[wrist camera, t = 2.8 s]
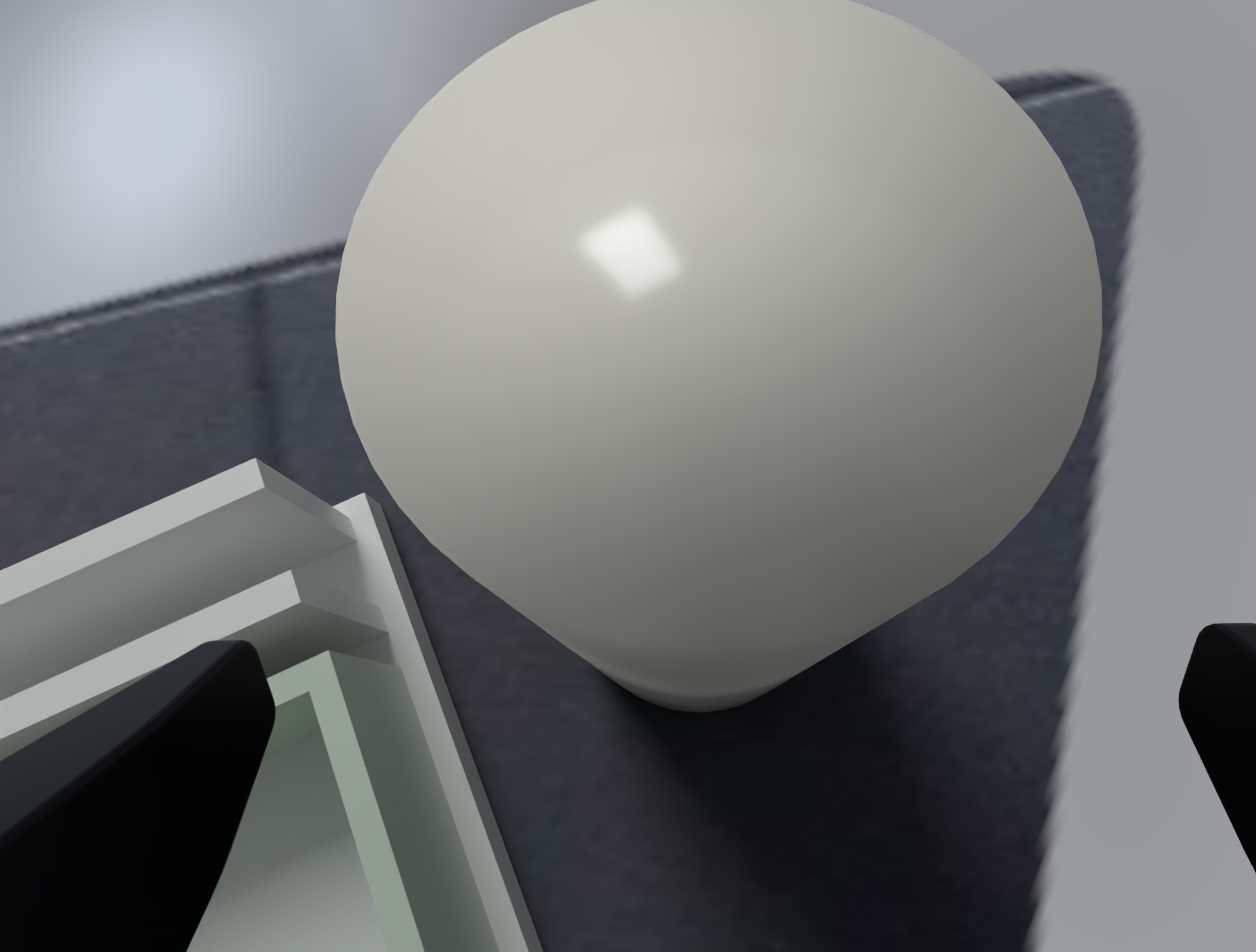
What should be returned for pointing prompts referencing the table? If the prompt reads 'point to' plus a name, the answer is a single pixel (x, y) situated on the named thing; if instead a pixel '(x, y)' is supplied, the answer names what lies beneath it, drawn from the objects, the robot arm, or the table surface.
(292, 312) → the table surface
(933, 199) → the off-white round-top cylinder
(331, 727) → the pale green holder box
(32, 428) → the table surface
